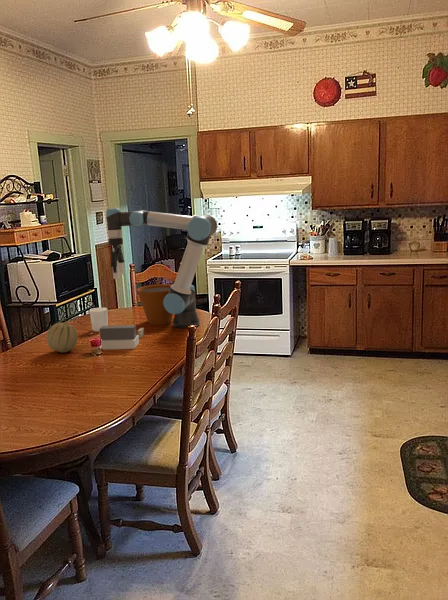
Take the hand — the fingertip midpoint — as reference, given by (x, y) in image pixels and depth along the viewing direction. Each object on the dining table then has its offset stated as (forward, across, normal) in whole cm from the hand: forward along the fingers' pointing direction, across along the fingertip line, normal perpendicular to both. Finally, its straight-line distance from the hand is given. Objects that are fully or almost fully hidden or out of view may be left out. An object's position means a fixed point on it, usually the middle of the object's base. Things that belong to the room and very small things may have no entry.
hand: (118, 276), depth 290 cm
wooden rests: (+30, +15, +5) cm, 34 cm away
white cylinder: (+30, -1, -14) cm, 33 cm away
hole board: (+30, +31, +5) cm, 44 cm away
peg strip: (+30, +31, +5) cm, 43 cm away
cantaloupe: (+30, +37, -22) cm, 53 cm away
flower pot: (+30, -16, +18) cm, 39 cm away
